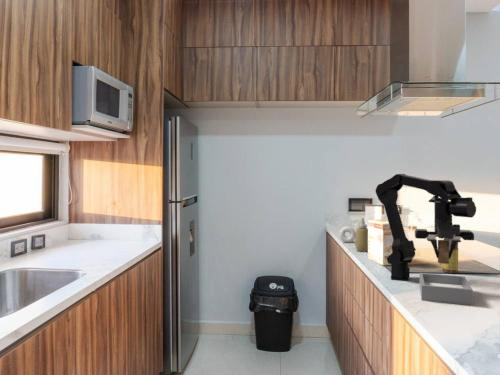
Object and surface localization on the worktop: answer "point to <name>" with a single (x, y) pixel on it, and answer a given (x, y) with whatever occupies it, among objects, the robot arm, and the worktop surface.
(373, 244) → the coffeecake box
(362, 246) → the squeeze bottle
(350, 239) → the donut
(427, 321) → the worktop surface
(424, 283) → the box
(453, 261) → the sauce bottle
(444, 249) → the peg
